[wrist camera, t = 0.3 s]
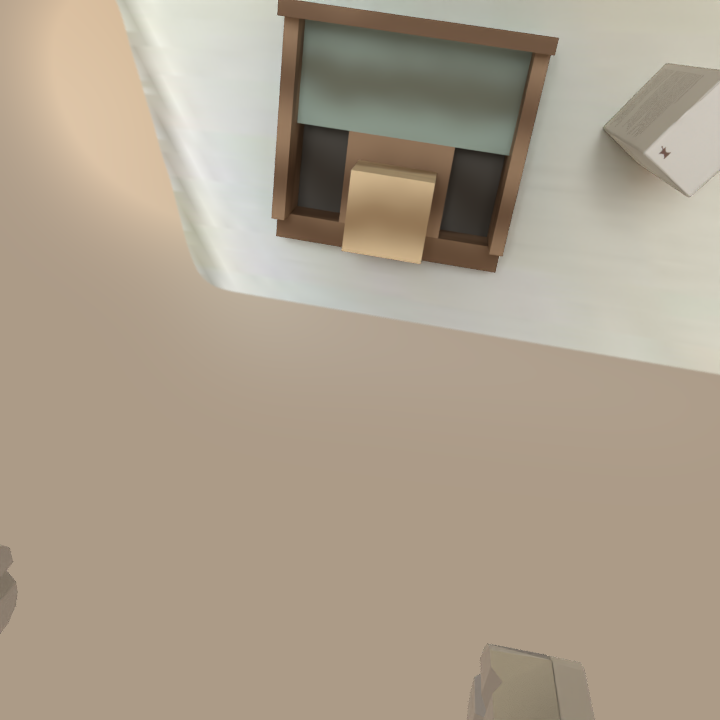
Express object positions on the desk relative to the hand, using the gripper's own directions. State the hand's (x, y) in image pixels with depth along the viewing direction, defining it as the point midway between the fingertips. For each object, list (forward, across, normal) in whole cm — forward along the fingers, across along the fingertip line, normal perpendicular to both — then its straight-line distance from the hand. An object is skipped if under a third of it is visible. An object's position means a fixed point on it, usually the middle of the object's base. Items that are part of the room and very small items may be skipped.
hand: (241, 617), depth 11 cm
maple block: (+43, +1, +3) cm, 43 cm away
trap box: (+46, +1, -1) cm, 46 cm away
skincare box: (+46, -17, -6) cm, 50 cm away
